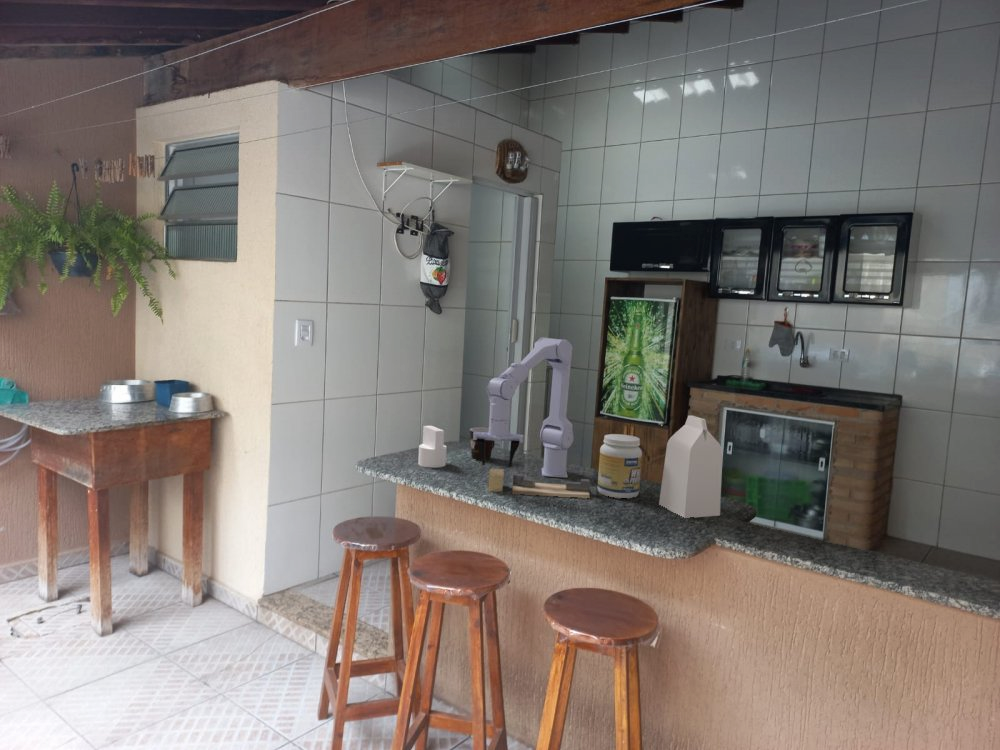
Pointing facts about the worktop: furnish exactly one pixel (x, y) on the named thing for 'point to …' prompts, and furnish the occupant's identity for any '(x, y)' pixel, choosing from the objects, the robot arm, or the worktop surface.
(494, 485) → the gold rectangular block
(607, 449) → the supplement tub
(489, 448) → the coffee mug
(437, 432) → the base with upright slab
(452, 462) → the worktop surface
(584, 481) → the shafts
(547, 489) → the wooden board
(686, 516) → the milk
